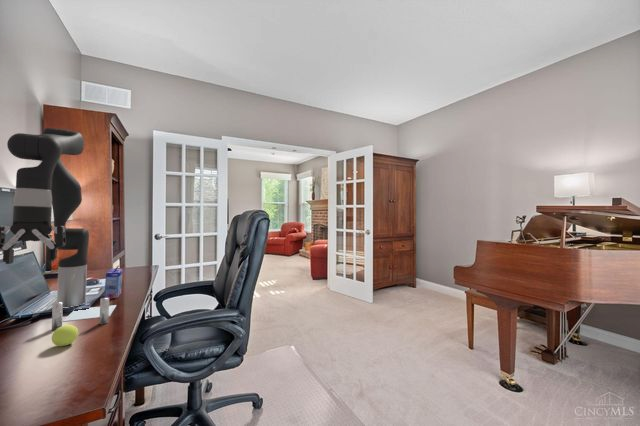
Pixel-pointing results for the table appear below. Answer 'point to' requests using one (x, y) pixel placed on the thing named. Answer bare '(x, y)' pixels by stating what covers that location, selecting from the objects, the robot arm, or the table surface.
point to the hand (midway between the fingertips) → (30, 262)
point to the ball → (64, 335)
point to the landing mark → (87, 313)
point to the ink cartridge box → (113, 283)
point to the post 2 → (104, 310)
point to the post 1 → (57, 315)
